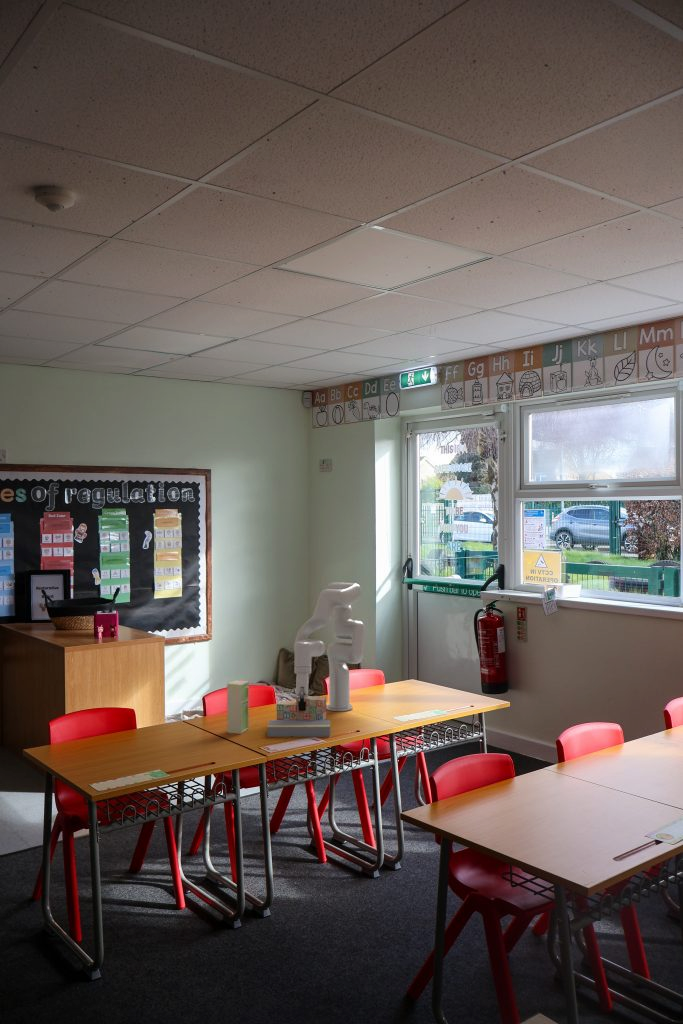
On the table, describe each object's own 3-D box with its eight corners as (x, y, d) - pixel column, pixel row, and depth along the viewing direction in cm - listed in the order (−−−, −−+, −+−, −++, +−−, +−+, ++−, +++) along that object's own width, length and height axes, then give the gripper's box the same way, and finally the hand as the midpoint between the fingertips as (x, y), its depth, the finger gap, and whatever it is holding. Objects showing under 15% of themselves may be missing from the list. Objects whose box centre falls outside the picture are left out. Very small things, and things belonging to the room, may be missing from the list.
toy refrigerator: (242, 734, 360) (242, 684, 360) (226, 733, 362) (226, 683, 362) (250, 729, 367) (250, 681, 368) (235, 728, 370) (235, 680, 370)
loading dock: (269, 729, 368) (269, 719, 368) (330, 729, 368) (330, 719, 368) (267, 736, 356) (267, 726, 356) (329, 736, 356) (329, 726, 356)
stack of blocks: (276, 725, 376) (276, 697, 376) (280, 721, 382) (280, 694, 383) (322, 728, 371) (322, 699, 371) (326, 724, 377) (326, 696, 377)
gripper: (295, 666, 387) (295, 704, 386) (293, 672, 369) (292, 712, 369) (312, 666, 387) (311, 704, 386) (310, 672, 369) (310, 712, 369)
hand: (302, 708), depth 377 cm, fingers open, 9 cm apart
